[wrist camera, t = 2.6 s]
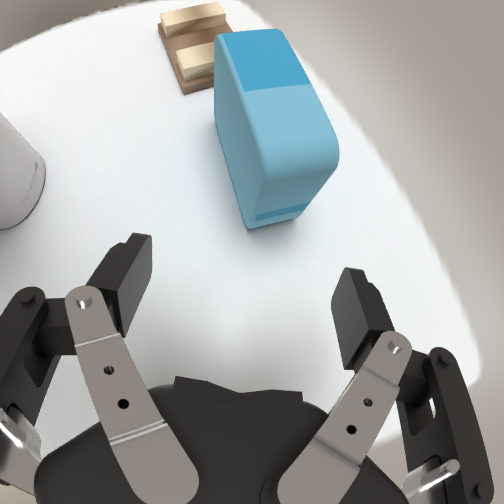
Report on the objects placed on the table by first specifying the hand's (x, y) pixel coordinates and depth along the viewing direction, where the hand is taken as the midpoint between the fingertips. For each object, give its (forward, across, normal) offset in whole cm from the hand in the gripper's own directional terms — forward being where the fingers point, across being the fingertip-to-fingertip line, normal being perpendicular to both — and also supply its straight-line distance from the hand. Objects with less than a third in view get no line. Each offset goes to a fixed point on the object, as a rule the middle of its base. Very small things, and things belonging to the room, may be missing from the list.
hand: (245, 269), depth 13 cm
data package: (+17, 0, +1) cm, 17 cm away
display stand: (+28, +8, -10) cm, 30 cm away
